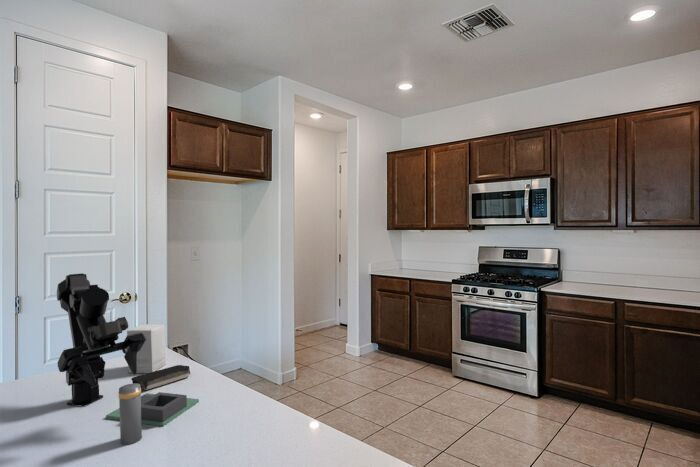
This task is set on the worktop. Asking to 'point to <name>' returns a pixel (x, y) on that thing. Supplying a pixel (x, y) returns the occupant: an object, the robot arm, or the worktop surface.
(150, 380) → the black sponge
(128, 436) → the plug
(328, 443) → the worktop surface
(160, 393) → the header board
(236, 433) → the worktop surface
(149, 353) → the supplement box
